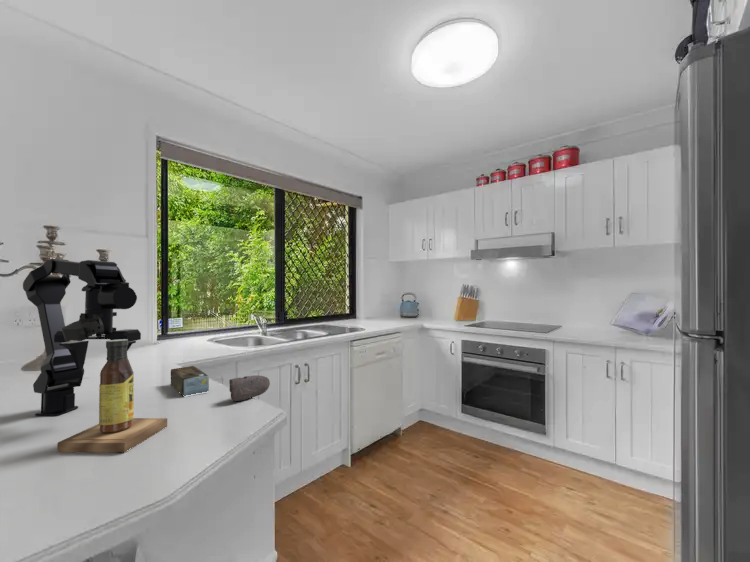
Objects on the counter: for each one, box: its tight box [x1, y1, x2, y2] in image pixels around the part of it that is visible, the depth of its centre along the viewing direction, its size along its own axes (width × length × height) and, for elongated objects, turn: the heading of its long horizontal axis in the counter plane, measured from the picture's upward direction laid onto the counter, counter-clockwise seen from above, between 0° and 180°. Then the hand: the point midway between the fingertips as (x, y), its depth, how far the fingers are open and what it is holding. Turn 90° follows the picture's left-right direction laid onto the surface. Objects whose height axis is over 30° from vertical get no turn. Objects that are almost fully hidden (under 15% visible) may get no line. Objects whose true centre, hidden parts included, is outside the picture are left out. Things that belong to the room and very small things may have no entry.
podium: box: [56, 417, 168, 454], centre depth 78 cm, size 14×14×2 cm
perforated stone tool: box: [228, 374, 271, 402], centre depth 108 cm, size 15×5×7 cm, turn 144°
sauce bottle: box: [98, 339, 135, 433], centre depth 78 cm, size 6×6×20 cm
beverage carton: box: [170, 365, 210, 396], centre depth 118 cm, size 8×19×7 cm, turn 41°
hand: (97, 369), depth 89 cm, fingers open, 9 cm apart
